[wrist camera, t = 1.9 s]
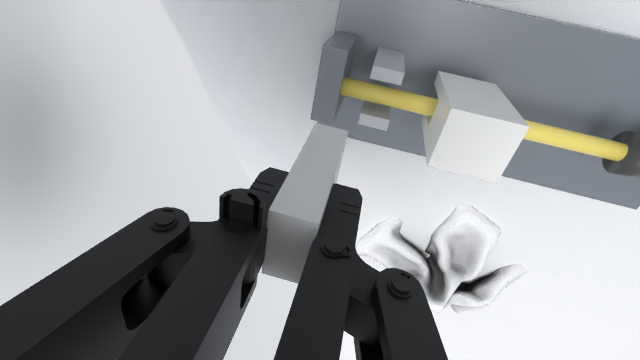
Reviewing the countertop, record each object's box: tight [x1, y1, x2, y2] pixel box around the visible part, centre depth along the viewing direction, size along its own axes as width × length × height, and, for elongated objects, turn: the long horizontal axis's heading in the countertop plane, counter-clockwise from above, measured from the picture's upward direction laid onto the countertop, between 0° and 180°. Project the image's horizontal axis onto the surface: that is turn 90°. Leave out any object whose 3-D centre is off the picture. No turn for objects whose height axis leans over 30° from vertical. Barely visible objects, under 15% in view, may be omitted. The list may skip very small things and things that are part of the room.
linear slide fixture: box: [311, 0, 640, 209], centre depth 24 cm, size 28×12×8 cm, turn 80°
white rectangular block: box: [421, 71, 530, 184], centre depth 21 cm, size 4×4×7 cm
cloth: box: [355, 203, 527, 313], centre depth 36 cm, size 22×19×6 cm
